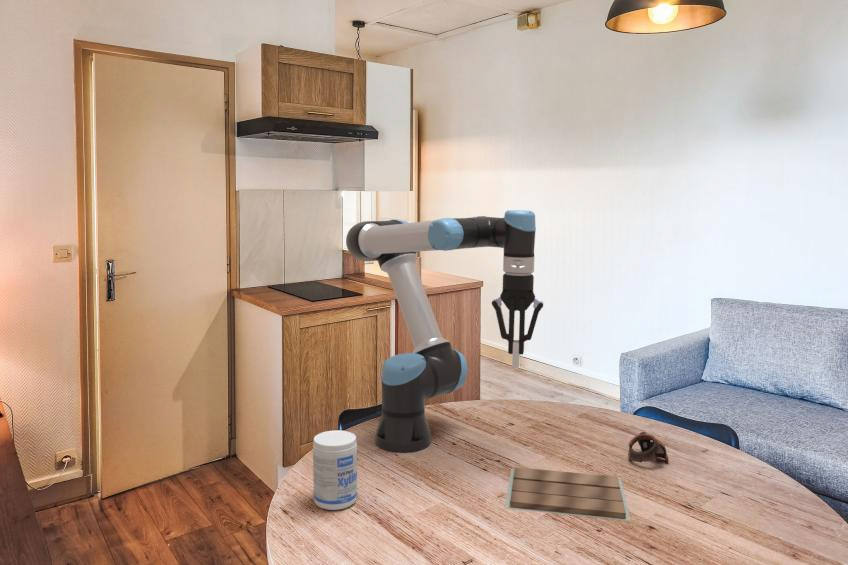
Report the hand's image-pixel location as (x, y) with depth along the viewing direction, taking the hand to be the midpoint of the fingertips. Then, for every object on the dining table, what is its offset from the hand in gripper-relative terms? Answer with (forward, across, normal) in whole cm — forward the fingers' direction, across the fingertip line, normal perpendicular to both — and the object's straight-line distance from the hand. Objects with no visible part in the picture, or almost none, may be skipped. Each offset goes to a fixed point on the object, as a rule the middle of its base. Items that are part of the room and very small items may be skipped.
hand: (515, 366), depth 161 cm
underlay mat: (+24, +13, -17) cm, 33 cm away
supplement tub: (+25, -37, -31) cm, 54 cm away
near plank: (+24, +13, -18) cm, 33 cm away
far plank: (+24, +13, -12) cm, 30 cm away
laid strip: (+24, +13, -24) cm, 37 cm away
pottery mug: (+25, +34, +6) cm, 42 cm away
